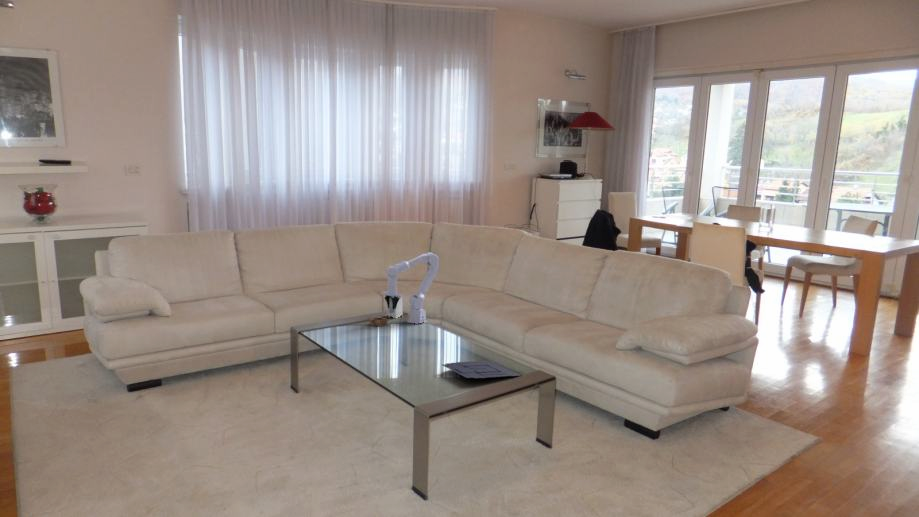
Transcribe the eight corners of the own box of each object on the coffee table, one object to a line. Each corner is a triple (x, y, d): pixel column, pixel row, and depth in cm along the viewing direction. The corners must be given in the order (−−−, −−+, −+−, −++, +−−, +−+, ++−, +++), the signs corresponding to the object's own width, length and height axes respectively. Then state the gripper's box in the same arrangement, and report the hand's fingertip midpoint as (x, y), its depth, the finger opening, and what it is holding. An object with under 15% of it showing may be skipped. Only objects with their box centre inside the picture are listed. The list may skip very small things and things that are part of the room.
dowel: (395, 312, 353) (395, 297, 351) (392, 313, 350) (392, 298, 349) (391, 311, 354) (391, 297, 353) (388, 312, 352) (388, 297, 350)
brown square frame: (387, 324, 351) (387, 318, 351) (378, 326, 345) (378, 320, 345) (378, 322, 356) (378, 316, 355) (369, 324, 349) (369, 318, 349)
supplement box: (402, 316, 372) (403, 297, 370) (395, 318, 366) (395, 299, 364) (393, 314, 376) (393, 295, 374) (386, 317, 369) (386, 297, 368)
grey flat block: (437, 369, 268) (438, 361, 268) (489, 366, 285) (489, 359, 285) (468, 385, 248) (469, 377, 248) (521, 381, 266) (522, 373, 265)
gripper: (378, 285, 351) (378, 307, 353) (397, 288, 343) (396, 311, 344) (386, 284, 357) (386, 305, 358) (404, 287, 348) (404, 309, 350)
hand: (392, 308), depth 352 cm, fingers closed on dowel, 3 cm apart
